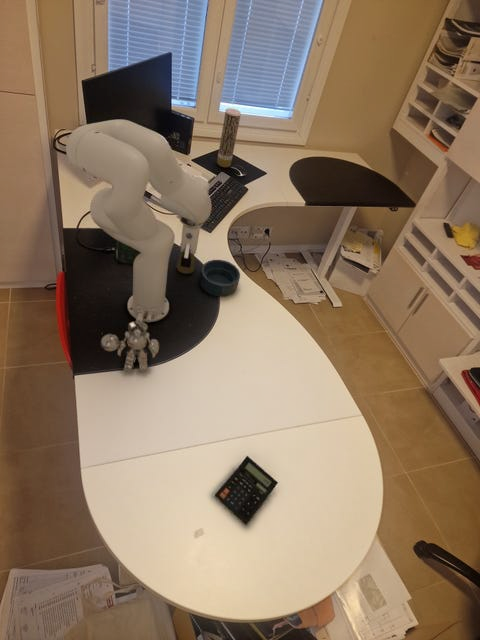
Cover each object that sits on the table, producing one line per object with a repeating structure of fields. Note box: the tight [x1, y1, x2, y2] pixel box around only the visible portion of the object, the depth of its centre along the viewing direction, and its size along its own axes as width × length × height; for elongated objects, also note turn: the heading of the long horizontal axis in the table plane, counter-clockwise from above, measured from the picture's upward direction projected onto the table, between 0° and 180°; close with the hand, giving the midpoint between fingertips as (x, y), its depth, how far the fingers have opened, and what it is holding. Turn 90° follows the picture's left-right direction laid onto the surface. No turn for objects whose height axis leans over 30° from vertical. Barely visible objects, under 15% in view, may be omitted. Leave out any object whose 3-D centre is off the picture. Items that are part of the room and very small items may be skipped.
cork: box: [176, 244, 195, 275], centre depth 138 cm, size 6×6×11 cm
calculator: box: [214, 455, 279, 526], centre depth 95 cm, size 9×12×3 cm
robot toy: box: [100, 321, 160, 373], centre depth 107 cm, size 15×6×15 cm, turn 96°
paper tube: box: [216, 107, 242, 169], centre depth 191 cm, size 7×7×25 cm
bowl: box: [199, 259, 241, 297], centre depth 139 cm, size 13×13×6 cm
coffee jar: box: [115, 240, 140, 265], centre depth 135 cm, size 10×8×19 cm
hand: (186, 261), depth 140 cm, fingers closed on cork, 4 cm apart
